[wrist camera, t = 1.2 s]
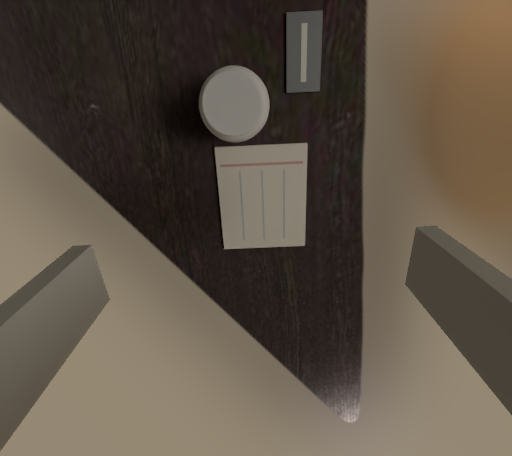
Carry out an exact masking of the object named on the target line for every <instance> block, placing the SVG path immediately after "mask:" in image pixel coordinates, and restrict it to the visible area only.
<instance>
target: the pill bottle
mask: <svg viewBox="0 0 512 456" xmlns="http://www.w3.org/2000/svg"><path fill="white" fill-rule="evenodd" d="M199 111H200V115H201V118H202V120H203V122H204V124H205V125H206V127H207V128H208V130H209V131H210V132H211V133H212V134H214V135H215V136H216V137H218V138H220V139H222V140H224V141H228V142H242V141H246V140H248V139H250V138H252V137H253V136H255V135H256V134H257V133H258V132H259V131H260V130H261V129H262V128H263V126H264V124H265V123H266V120H267V118H268V114H269V96H268V92H267V90H266V87H265V85H264V84H263V82H262V80H261V79H260V78H259V77H258V76H257V75H256V74H255V73H254V72H252V71H251V70H249V69H247V68H245V67H242V66H235V65H231V66H226V67H222V68H220V69H218V70H216V71H215V72H213V73H212V74H211V75H210V76H209V77H208V78H207V79H206V81H205V82H204V84H203V86H202V88H201V91H200V95H199Z"/></svg>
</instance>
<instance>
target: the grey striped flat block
mask: <svg viewBox="0 0 512 456" xmlns="http://www.w3.org/2000/svg"><path fill="white" fill-rule="evenodd" d="M322 19H323V11H305V12H286V93H294V92H315V91H320V71H321V45H322Z"/></svg>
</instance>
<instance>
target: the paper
mask: <svg viewBox="0 0 512 456" xmlns="http://www.w3.org/2000/svg"><path fill="white" fill-rule="evenodd" d="M307 144H308V143H291V144H269V145H247V146H225V147H214V148H215V158H216V169H217V179H218V190H219V200H220V211H221V221H222V231H223V242H224V249H239V248H263V247H287V246H305V221H306V183H307Z"/></svg>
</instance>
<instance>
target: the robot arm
mask: <svg viewBox="0 0 512 456" xmlns="http://www.w3.org/2000/svg"><path fill="white" fill-rule="evenodd" d="M405 284H406V286H407V287H408V288H409V289H410V291H411V292H412V293H413V294H414V295H415V297H416V298H417V299H418V300H419V302H420V303H421V304H422V305H423V307H424V308H425V309H426V310H427V311H428V313H429V314H430V315H431V316H432V317H433V319H434V320H435V321H436V323H437V324H438V325H439V326H440V327H441V329H442V330H443V331H444V332H445V334H446V335H447V336H448V337H449V338H450V340H451V341H452V342H453V343H454V345H455V346H456V347H457V348H458V350H459V351H460V352H461V353H462V354H463V356H464V357H465V358H466V359H467V361H468V362H469V363H470V364H471V366H472V367H473V368H474V369H475V370H476V372H477V373H478V374H479V375H480V377H481V378H482V379H483V380H484V382H485V383H486V384H487V385H488V386H489V388H490V389H491V390H492V391H493V393H494V394H495V395H496V396H497V397H498V399H499V400H500V401H501V402H502V404H503V405H504V406H505V407H506V409H507V410H508V411H509V412H510V414H511V415H512V279H511V278H509V277H508V276H506V275H505V274H503V273H502V272H501V271H499V270H498V269H496V268H495V267H493V266H492V265H491V264H489V263H488V262H486V261H485V260H484V259H482V258H481V257H479V256H478V255H476V254H475V253H474V252H472V251H471V250H469V249H468V248H467V247H465V246H464V245H462V244H461V243H459V242H458V241H457V240H455V239H454V238H452V237H451V236H449V235H448V234H447V233H445V232H444V231H442V230H441V229H439V228H438V227H437V226H424V227H416V231H415V237H414V242H413V246H412V252H411V257H410V262H409V267H408V272H407V278H406V283H405ZM109 300H110V298H109V295H108V292H107V290H106V287H105V284H104V281H103V278H102V275H101V273H100V270H99V266H98V263H97V260H96V258H95V255H94V251H93V249H92V246H91V245H84V246H72V247H71V248H70V249H69V250H67V251H66V252H65V253H64V254H63V255H61V256H60V257H59V258H58V259H56V260H55V261H54V262H53V263H51V264H50V265H49V266H48V267H46V268H45V269H44V270H43V271H42V272H40V273H39V274H38V275H37V276H35V277H34V278H33V279H32V280H31V281H29V282H28V283H27V284H26V285H24V286H23V287H22V288H21V289H19V290H18V291H17V292H16V293H14V294H13V295H12V296H11V297H9V298H8V299H7V300H6V301H5V302H3V303H2V304H1V305H0V451H1V450H2V448H3V447H4V445H5V444H6V443H7V441H8V440H9V439H10V437H11V436H12V434H13V433H14V432H15V430H16V429H17V427H18V426H19V425H20V423H21V422H22V420H23V419H24V418H25V416H26V415H27V414H28V412H29V411H30V409H31V408H32V407H33V405H34V404H35V402H36V401H37V400H38V398H39V397H40V396H41V394H42V393H43V391H44V390H45V389H46V387H47V386H48V384H49V383H50V381H51V380H52V379H53V377H54V376H55V375H56V373H57V372H58V370H59V369H60V368H61V366H62V365H63V364H64V362H65V361H66V359H67V358H68V357H69V355H70V354H71V353H72V351H73V350H74V348H75V347H76V346H77V344H78V343H79V341H80V340H81V339H82V337H83V336H84V334H85V333H86V332H87V330H88V329H89V327H90V326H91V325H92V323H93V322H94V321H95V319H96V318H97V316H98V315H99V314H100V312H101V311H102V310H103V308H104V307H105V305H106V304H107V303H108V301H109Z"/></svg>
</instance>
